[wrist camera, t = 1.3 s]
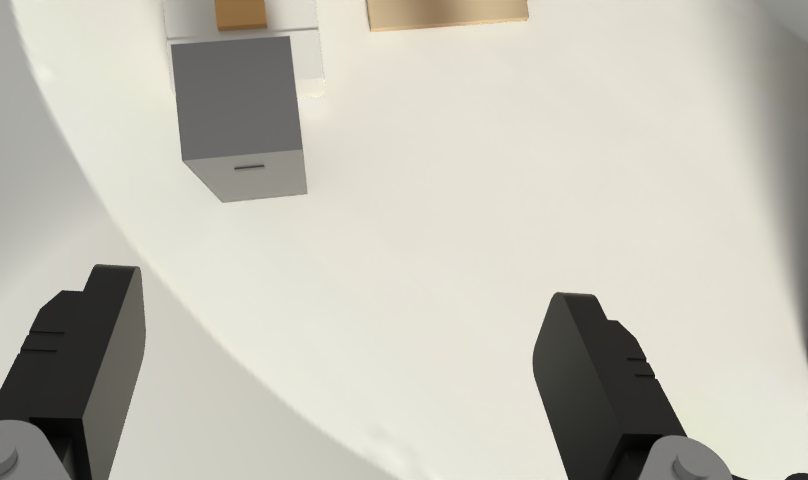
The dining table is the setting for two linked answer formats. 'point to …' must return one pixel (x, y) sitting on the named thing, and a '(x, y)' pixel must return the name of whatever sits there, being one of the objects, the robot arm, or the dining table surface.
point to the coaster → (442, 13)
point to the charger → (240, 117)
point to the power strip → (252, 31)
